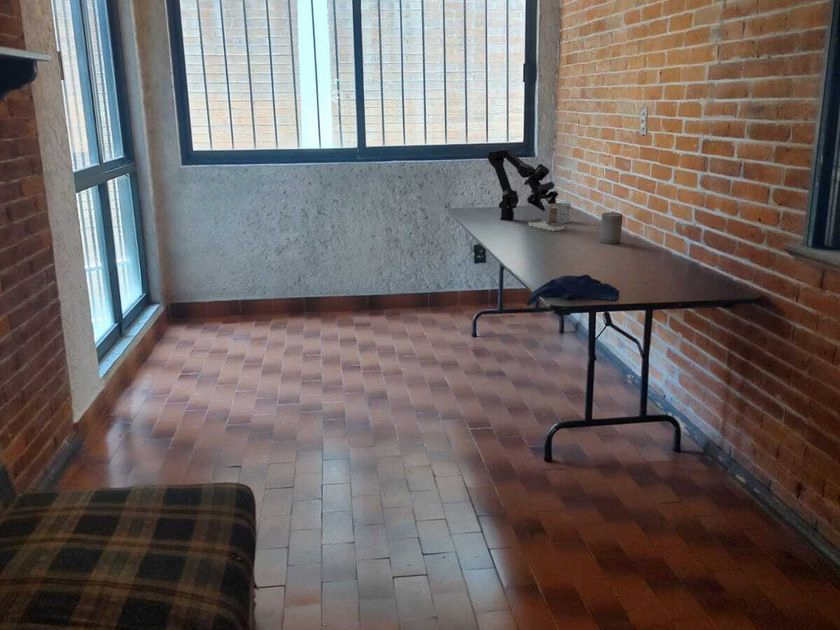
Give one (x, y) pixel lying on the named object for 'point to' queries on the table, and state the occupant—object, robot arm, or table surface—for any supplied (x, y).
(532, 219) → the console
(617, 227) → the pillar candle
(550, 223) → the fader
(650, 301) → the table surface
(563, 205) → the light bulb box
